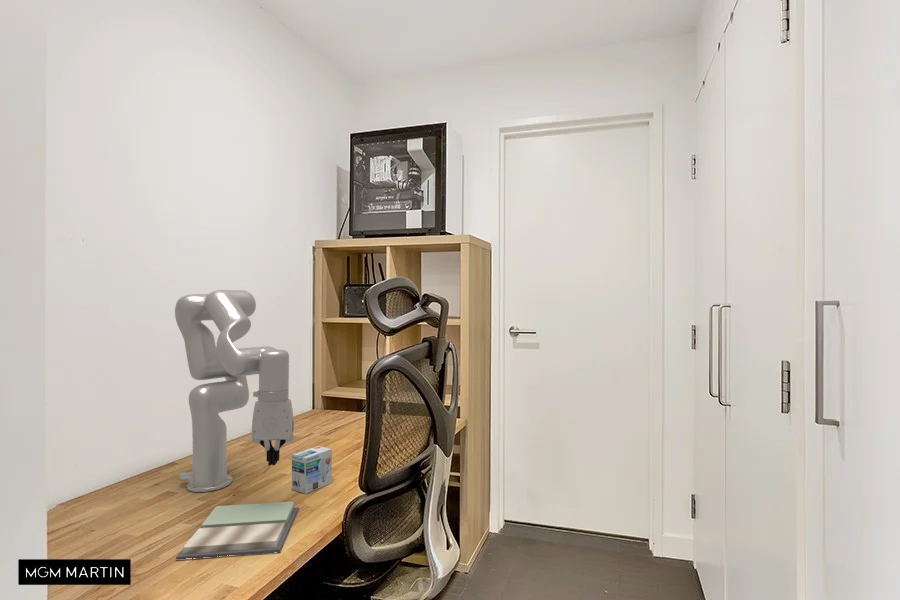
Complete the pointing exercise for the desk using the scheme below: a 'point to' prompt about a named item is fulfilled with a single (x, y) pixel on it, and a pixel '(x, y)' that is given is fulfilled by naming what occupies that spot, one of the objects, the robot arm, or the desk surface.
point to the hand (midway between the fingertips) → (272, 463)
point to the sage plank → (249, 514)
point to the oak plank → (234, 538)
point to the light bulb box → (311, 469)
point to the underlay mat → (249, 551)
